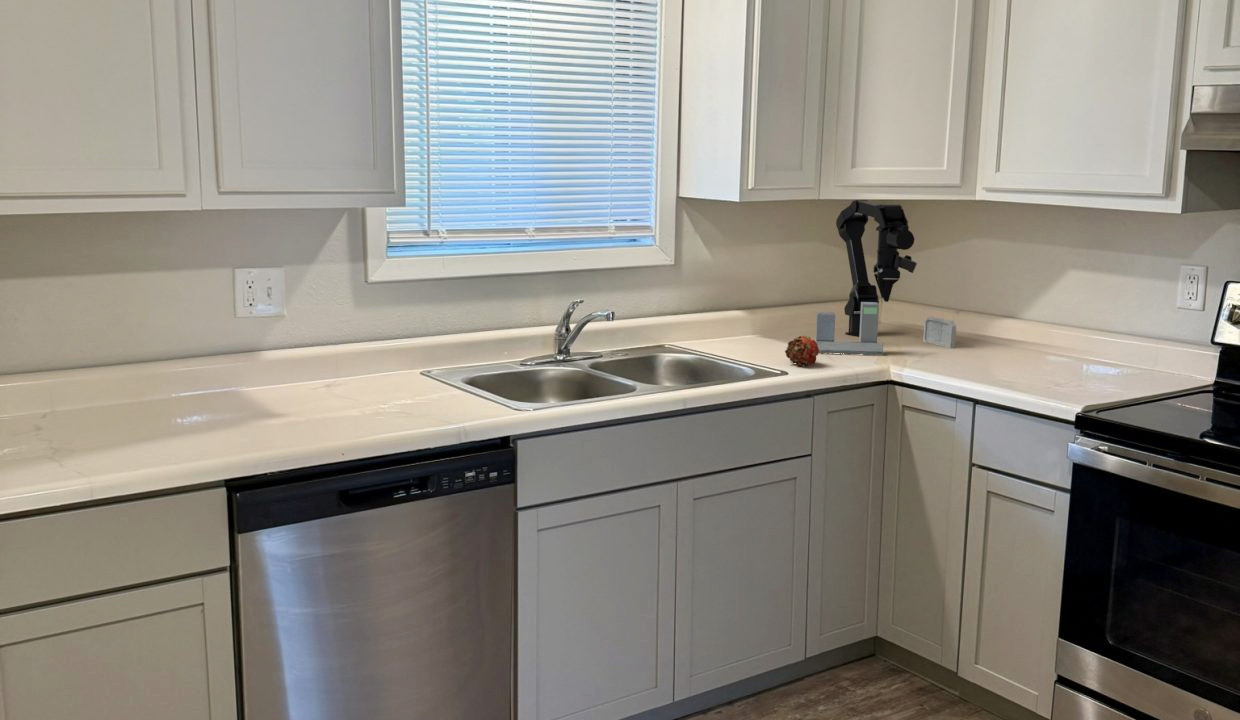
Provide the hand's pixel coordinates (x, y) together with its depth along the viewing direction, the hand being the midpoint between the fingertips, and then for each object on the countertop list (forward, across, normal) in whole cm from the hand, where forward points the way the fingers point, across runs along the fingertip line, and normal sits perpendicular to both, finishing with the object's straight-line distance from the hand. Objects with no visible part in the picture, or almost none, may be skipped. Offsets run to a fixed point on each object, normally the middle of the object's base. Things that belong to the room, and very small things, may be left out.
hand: (884, 299), depth 328 cm
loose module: (+12, -19, +6) cm, 23 cm away
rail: (+13, -20, +11) cm, 26 cm away
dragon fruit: (+13, -40, +25) cm, 49 cm away
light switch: (+13, 0, -16) cm, 21 cm away
